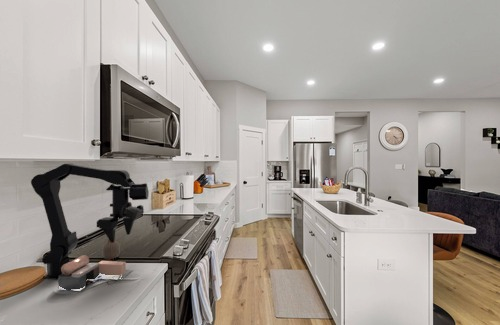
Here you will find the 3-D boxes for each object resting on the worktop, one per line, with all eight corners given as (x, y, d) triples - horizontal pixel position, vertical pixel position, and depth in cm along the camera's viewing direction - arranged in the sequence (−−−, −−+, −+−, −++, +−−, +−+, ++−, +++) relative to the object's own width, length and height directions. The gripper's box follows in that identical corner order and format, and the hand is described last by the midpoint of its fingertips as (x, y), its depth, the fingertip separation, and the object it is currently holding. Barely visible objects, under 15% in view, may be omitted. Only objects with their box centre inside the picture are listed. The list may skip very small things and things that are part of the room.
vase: (99, 262, 93) (99, 242, 93) (105, 256, 99) (105, 237, 99) (117, 260, 95) (117, 241, 95) (122, 254, 101) (122, 235, 101)
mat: (88, 278, 80) (88, 277, 80) (102, 269, 87) (102, 268, 87) (120, 280, 79) (120, 279, 79) (132, 271, 86) (132, 270, 86)
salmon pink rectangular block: (96, 274, 82) (96, 263, 82) (101, 271, 85) (101, 260, 85) (121, 276, 81) (121, 264, 81) (125, 272, 84) (125, 261, 84)
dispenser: (58, 290, 73) (58, 264, 73) (79, 277, 81) (79, 254, 81) (79, 291, 72) (79, 265, 72) (98, 278, 80) (98, 255, 80)
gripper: (123, 205, 79) (123, 248, 79) (151, 197, 97) (151, 231, 97) (95, 205, 80) (95, 246, 80) (128, 196, 98) (128, 230, 99)
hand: (120, 238), depth 89 cm, fingers open, 9 cm apart
